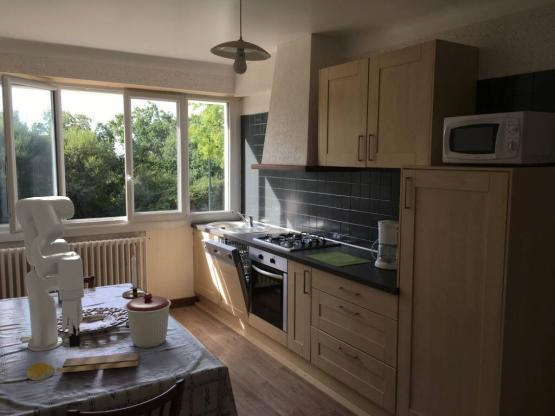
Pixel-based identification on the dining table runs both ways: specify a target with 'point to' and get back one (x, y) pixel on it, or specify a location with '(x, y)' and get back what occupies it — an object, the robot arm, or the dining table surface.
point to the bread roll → (40, 371)
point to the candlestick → (134, 292)
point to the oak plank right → (118, 365)
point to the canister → (148, 320)
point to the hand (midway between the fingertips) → (75, 345)
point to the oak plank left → (77, 368)
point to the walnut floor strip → (101, 360)
